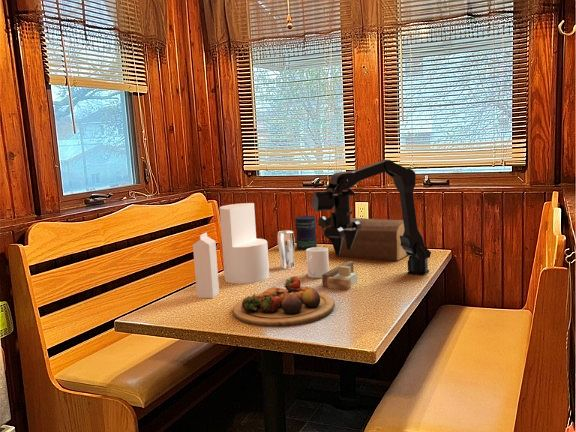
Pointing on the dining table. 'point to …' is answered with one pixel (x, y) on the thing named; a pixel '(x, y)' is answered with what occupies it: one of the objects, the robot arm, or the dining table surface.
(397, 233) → the wooden bread box
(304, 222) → the storage jar
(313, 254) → the mug
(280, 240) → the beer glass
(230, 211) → the stepped white drum
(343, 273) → the square base with post
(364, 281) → the dining table surface
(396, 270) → the dining table surface
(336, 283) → the cleat board
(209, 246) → the milk
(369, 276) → the dining table surface
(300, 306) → the wooden plate with food
